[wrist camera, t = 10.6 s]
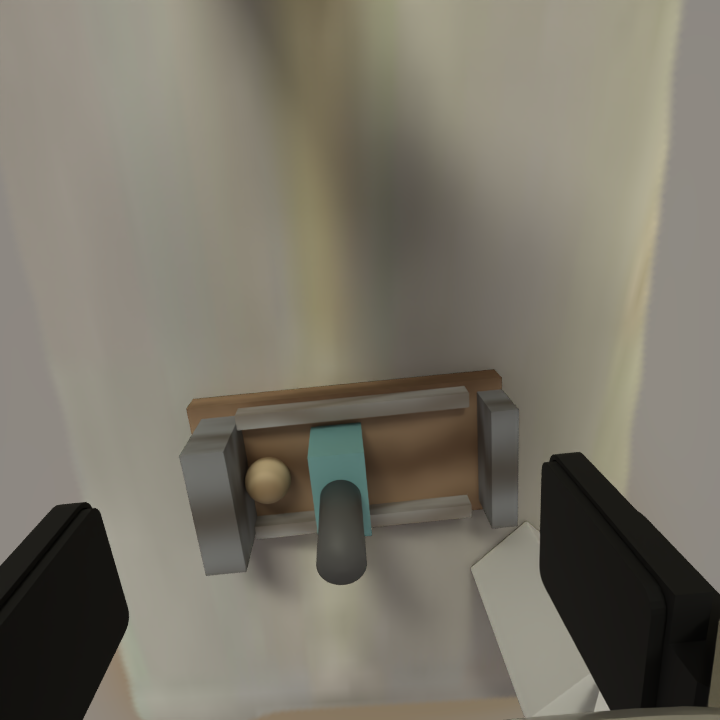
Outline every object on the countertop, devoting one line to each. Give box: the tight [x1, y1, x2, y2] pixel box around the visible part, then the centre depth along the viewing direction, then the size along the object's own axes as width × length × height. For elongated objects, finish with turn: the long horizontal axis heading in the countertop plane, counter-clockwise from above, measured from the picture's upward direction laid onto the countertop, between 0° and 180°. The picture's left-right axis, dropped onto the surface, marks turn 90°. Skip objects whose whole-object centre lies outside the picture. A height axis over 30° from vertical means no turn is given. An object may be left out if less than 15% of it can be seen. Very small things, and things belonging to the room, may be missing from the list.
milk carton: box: [471, 521, 610, 718], centre depth 39 cm, size 7×7×19 cm
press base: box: [179, 369, 519, 576], centre depth 40 cm, size 12×25×8 cm, turn 95°
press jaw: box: [307, 422, 372, 585], centre depth 36 cm, size 7×4×12 cm, turn 5°
